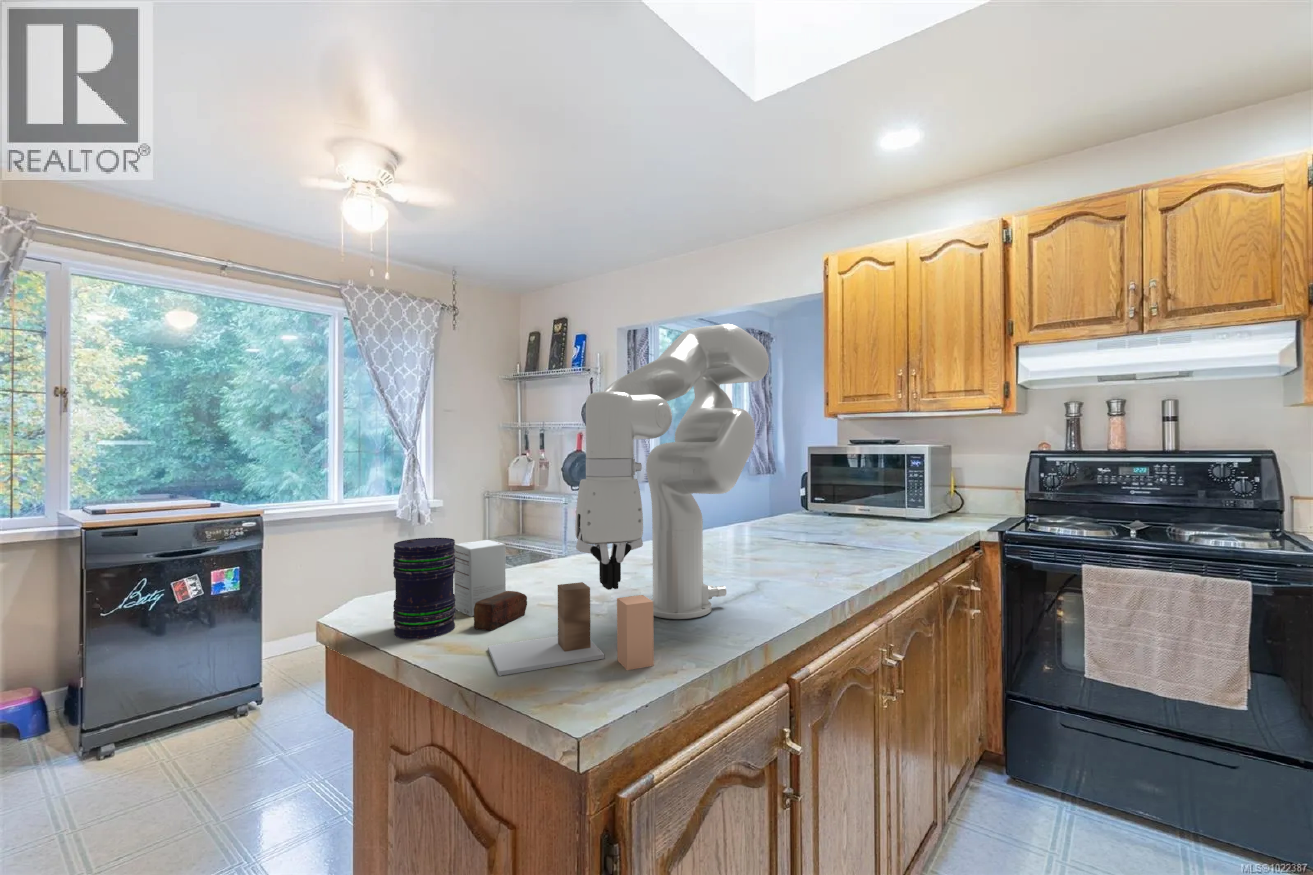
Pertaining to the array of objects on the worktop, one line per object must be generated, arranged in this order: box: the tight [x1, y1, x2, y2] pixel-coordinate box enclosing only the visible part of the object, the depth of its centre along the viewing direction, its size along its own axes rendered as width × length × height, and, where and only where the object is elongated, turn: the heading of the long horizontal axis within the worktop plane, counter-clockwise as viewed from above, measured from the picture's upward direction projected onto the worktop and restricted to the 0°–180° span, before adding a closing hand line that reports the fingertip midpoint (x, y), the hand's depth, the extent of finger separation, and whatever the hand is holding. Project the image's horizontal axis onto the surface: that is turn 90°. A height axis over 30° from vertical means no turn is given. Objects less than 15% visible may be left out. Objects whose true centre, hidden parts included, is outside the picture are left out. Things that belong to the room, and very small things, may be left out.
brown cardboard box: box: [557, 581, 592, 652], centre depth 87 cm, size 4×4×9 cm
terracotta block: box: [616, 594, 655, 671], centre depth 82 cm, size 4×4×9 cm
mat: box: [487, 635, 605, 677], centre depth 85 cm, size 15×11×1 cm
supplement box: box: [453, 539, 507, 618], centre depth 110 cm, size 7×7×13 cm
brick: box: [473, 590, 528, 632], centre depth 102 cm, size 11×4×5 cm, turn 160°
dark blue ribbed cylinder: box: [392, 537, 457, 641], centre depth 97 cm, size 10×10×15 cm
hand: (610, 587), depth 90 cm, fingers closed
